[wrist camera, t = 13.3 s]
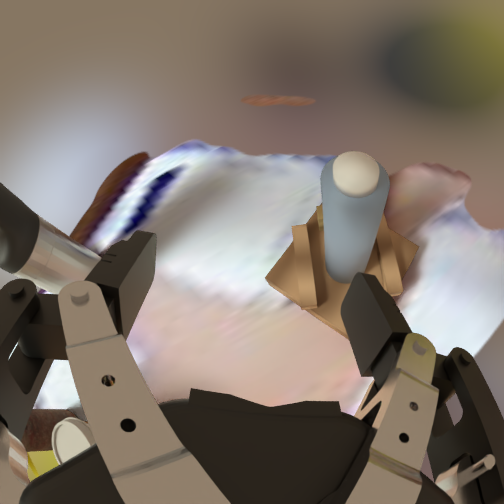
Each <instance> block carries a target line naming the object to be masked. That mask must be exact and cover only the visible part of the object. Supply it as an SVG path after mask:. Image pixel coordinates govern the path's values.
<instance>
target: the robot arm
mask: <svg viewBox="0 0 504 504" xmlns="http://www.w3.org/2000/svg"><path fill="white" fill-rule="evenodd" d="M155 258H156V234H155V233H150V232H145V231H139V230H137V231H136V232H135V233H134V234H133V235H132V236H131V238H130V239H129V240H128V241H124V240H121V241H120V242H118V243H116V244H114V245H112V246H111V247H110V248H109V250H108V251H107V252H106V254H104V256H103V257H102V258H101V257H100V256H98V255H96V254H95V253H93V252H92V251H90V250H89V249H87V248H86V247H84V246H83V245H81V244H80V243H78V242H77V241H75V240H74V239H72V238H71V237H69V236H68V235H66V234H65V233H63V232H62V231H60V230H59V229H57V228H56V227H54V226H53V225H52V224H50V223H49V222H47V221H46V220H44V219H43V218H42V217H40V216H39V215H37V214H36V213H34V212H33V211H32V210H31V209H30V208H29V207H27V206H26V205H25V204H24V203H23V202H22V201H21V200H20V199H19V198H18V197H16V196H15V195H14V194H13V193H12V192H10V191H9V190H8V189H7V188H6V187H5V186H3V184H2V183H0V268H2V269H3V270H5V271H7V272H9V273H11V274H13V275H15V276H17V277H19V278H21V279H15V280H12V281H10V282H9V283H7V284H6V285H4V286H3V288H2V289H1V290H0V504H504V419H503V417H502V415H501V412H500V410H499V408H498V406H497V403H496V401H495V399H494V397H493V395H492V393H491V391H490V389H489V387H488V385H487V383H486V381H485V379H484V377H483V375H482V373H481V371H480V369H479V367H478V365H477V364H476V362H475V360H474V358H473V357H472V356H471V354H470V353H468V352H467V351H466V350H464V349H462V348H459V347H456V348H453V349H452V351H451V352H450V353H449V355H448V356H444V355H441V354H437V353H436V350H435V347H434V346H433V344H432V343H431V342H430V341H429V340H428V339H427V338H426V337H424V336H422V335H420V334H417V333H412V331H411V329H410V327H409V325H408V324H407V322H406V320H405V318H404V317H403V315H402V313H400V310H399V308H398V306H396V303H395V301H394V300H393V298H392V296H391V295H390V294H389V293H388V292H387V291H386V290H384V289H383V287H382V285H381V284H380V282H379V280H378V279H377V277H376V276H375V275H372V274H366V273H361V272H358V273H356V274H355V276H354V278H353V280H352V282H351V284H350V287H349V289H348V291H347V293H346V295H345V297H344V299H343V302H342V304H341V311H340V313H341V318H342V321H343V323H344V326H345V329H346V332H347V335H348V338H349V341H350V344H351V347H352V349H353V352H354V355H355V359H356V362H357V365H358V368H359V371H360V374H361V377H374V380H373V382H372V383H371V384H370V386H369V388H368V390H367V392H366V394H365V396H364V398H363V400H362V402H361V404H360V406H359V408H358V410H357V412H356V414H355V415H354V416H352V415H350V414H346V413H344V412H341V409H340V405H339V401H303V402H298V403H292V404H287V405H281V406H275V407H267V406H264V405H260V404H257V403H254V402H251V401H248V400H245V399H242V398H239V397H236V396H233V395H230V394H223V393H216V392H210V391H204V390H198V389H192V388H191V391H190V397H189V399H178V400H171V401H167V402H163V403H160V404H157V402H156V401H155V399H154V397H153V395H152V393H151V392H150V390H149V388H148V386H147V384H146V382H145V380H144V378H143V376H142V374H141V372H140V370H139V368H138V366H137V364H136V362H135V360H134V358H133V356H132V354H131V352H130V350H129V347H128V345H127V343H126V340H127V337H128V335H129V333H130V330H131V328H132V326H133V324H134V321H135V319H136V317H137V315H138V312H139V310H140V308H141V306H142V304H143V302H144V299H145V297H146V295H147V293H148V291H149V289H150V287H151V285H152V282H153V279H154V274H155ZM36 286H38V287H40V288H42V289H44V290H46V291H49V292H51V293H53V294H38V292H37V289H36ZM17 342H18V345H17V346H16V348H15V350H14V352H13V353H12V355H11V357H10V359H9V356H10V354H11V352H12V350H13V349H14V347H15V345H16V344H17ZM54 359H56V360H69V364H70V368H71V372H72V375H73V379H74V382H75V386H76V389H77V392H78V395H79V398H80V401H81V404H82V407H83V410H84V413H85V416H86V418H87V421H88V424H89V426H90V429H91V431H92V434H93V436H94V439H95V441H96V443H95V444H94V445H92V446H90V447H89V448H87V449H86V450H84V451H82V452H81V453H79V454H77V455H76V456H74V457H72V458H71V459H69V460H67V461H66V462H64V463H62V464H60V465H59V466H57V467H55V468H53V469H52V470H50V471H48V472H46V473H44V474H43V475H41V476H39V477H37V478H35V479H34V480H33V481H31V482H30V480H29V478H28V474H27V469H28V465H27V464H28V457H27V452H26V449H25V447H24V446H23V444H22V443H21V440H22V437H23V434H24V431H25V428H26V425H27V422H28V420H29V417H30V414H31V412H32V409H33V406H34V404H35V401H36V399H37V396H38V394H39V392H40V389H41V387H42V385H43V382H44V380H45V378H46V375H47V373H48V371H49V369H50V367H51V365H52V362H53V360H54ZM455 393H456V394H457V396H458V399H459V401H460V403H461V406H462V408H463V415H462V418H461V420H460V421H459V422H458V423H457V424H456V425H455V426H454V425H453V422H452V419H451V417H450V414H449V411H448V409H447V406H446V402H447V401H448V400H449V399H450V398H451V397H452V396H453V395H454V394H455ZM426 449H427V453H428V457H429V461H430V465H431V469H432V473H433V478H434V482H435V483H433V481H431V480H430V479H429V478H428V477H427V476H426V475H424V474H423V473H422V472H421V471H420V469H421V466H422V462H423V459H424V456H425V452H426Z"/></svg>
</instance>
